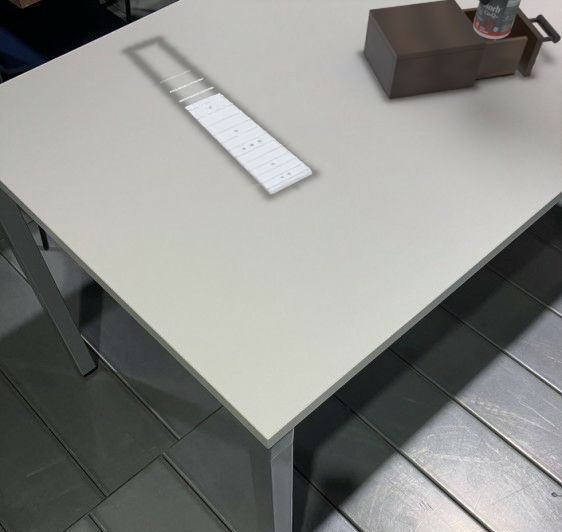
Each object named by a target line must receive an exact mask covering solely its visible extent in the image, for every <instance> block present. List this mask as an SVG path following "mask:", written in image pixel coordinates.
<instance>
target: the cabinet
mask: <svg viewBox="0 0 562 532" xmlns="http://www.w3.org/2000/svg"><path fill="white" fill-rule="evenodd" d="M462 9H463V8H462V7H461V6H460V5H459V3H458V2H457V0H435V1H434V0H433V1H427V2H418V3H410V4H403V5H395V6H387V7H379V8H370V9H369V11H368V18H367V25H366V32H365V40H364V46H363V55H364V57H365V59H366V61H367V62H368V65H369V66H370V68H371V69H372V71H373V73H374V75H375V76H376V79H377V80H378V82H379V84H380V85H381V87H382V89H383V91H384V92H385V94H386V96H387V98H388V100H393V99H400V98H406V97H413V96H420V95H427V94H432V93H439V92H445V91H453V90H459V89H465V88H473V87H474V86H475V82H476V76H477V73H478V70H479V66H480V63H481V60H482V57H483V54H484V50H485V48H486V44H487V42H486V41H485V40H484V38H483V37H482V36H481V35H479V34H478V33H477V32H476V31H475V30H474V27H473V24H472V22H471V21H470V20H469V18H468V17H467V16H466V14H465V13H464V12H463V10H462Z"/></svg>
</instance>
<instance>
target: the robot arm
mask: <svg viewBox="0 0 562 532" xmlns="http://www.w3.org/2000/svg"><path fill="white" fill-rule="evenodd" d="M489 1H490V0H478V2H481V4H482V5H487V4H488V3H489Z"/></svg>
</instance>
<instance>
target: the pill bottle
mask: <svg viewBox="0 0 562 532" xmlns="http://www.w3.org/2000/svg"><path fill="white" fill-rule="evenodd" d="M521 2H522V0H490V1H489V3H488V4H487V5H482V4H481V2H480V1H478V5H477V7H478V9H477V12H476V15H475V19H474V23H473V27H474V30H475V31H476V32H477V33H478V34H479V35H481V36H483V37H485V38H489V39H494V40H496V39H500V38H503V37H505V36H507V35H508V34H509V33H510V31H511V28H512V26H513V23H514V20H515V17H516V14H517V11H518V8H520V5H521Z"/></svg>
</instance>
